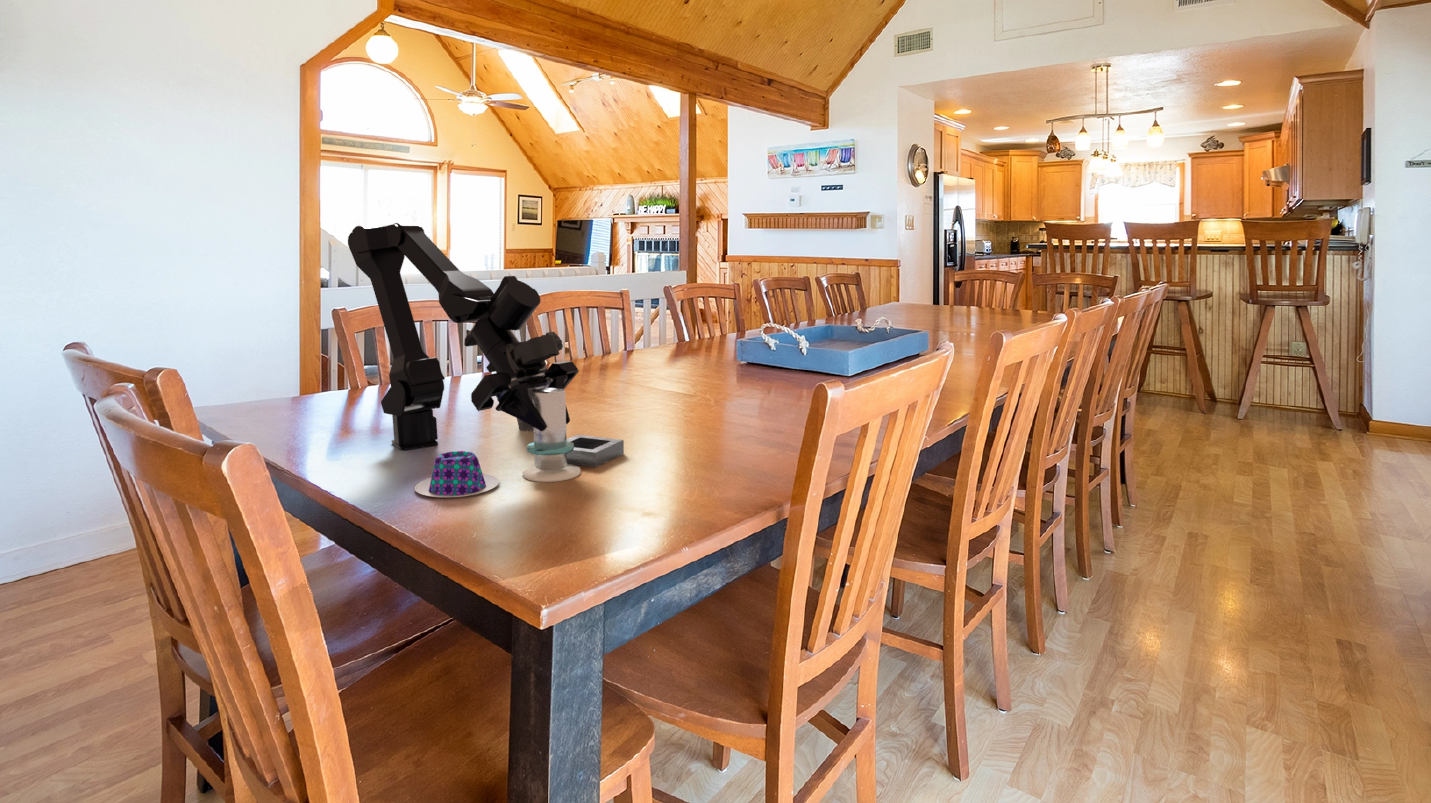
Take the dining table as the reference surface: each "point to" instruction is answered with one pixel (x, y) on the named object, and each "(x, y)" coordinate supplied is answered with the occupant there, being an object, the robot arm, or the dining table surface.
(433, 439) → the robot arm
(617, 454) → the box
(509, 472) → the dining table surface
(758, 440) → the dining table surface
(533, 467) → the coaster
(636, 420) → the dining table surface
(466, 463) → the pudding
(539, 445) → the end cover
